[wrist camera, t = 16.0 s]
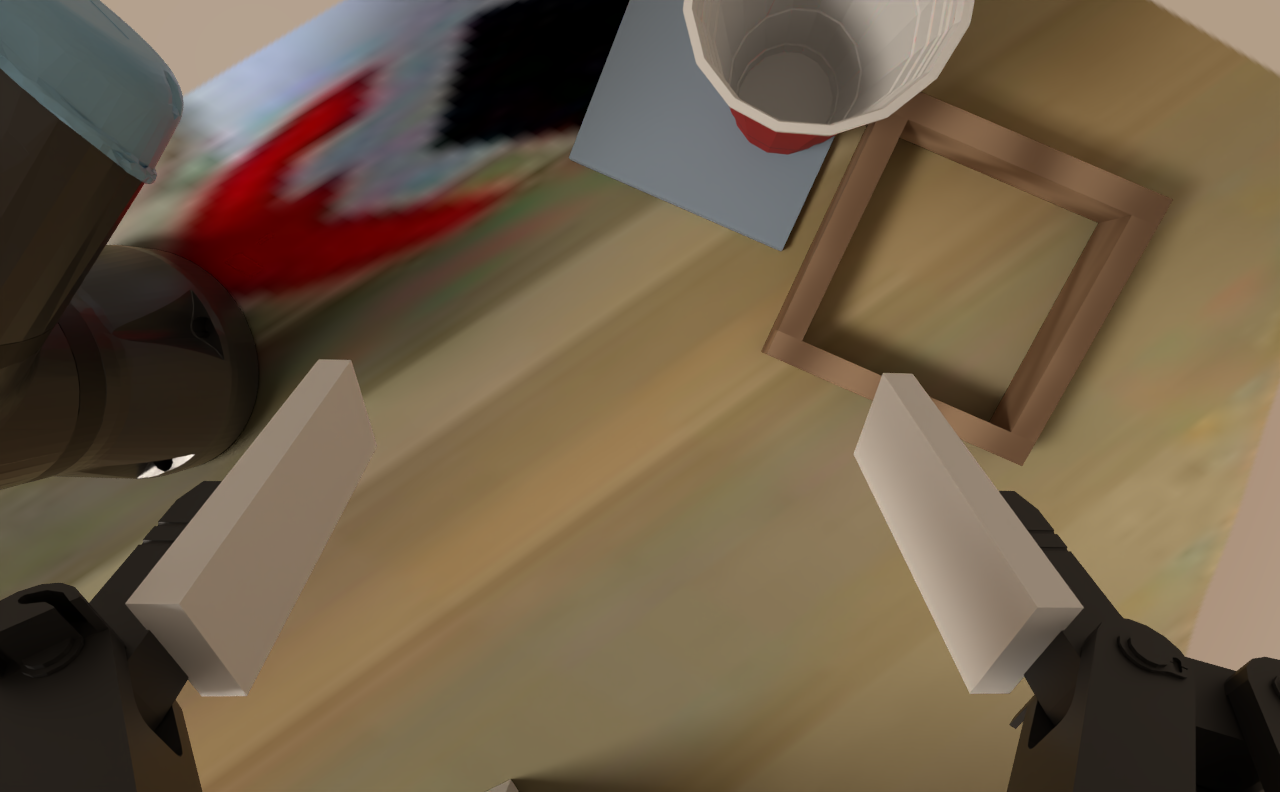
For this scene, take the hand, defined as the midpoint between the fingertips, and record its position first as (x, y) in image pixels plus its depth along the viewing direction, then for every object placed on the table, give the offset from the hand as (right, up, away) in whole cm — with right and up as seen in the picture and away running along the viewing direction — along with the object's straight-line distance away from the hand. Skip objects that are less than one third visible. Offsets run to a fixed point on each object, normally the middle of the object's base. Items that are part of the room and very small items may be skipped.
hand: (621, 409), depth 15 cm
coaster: (+5, +18, +19) cm, 27 cm away
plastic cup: (+9, +17, +19) cm, 27 cm away
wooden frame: (+18, +7, +20) cm, 28 cm away
